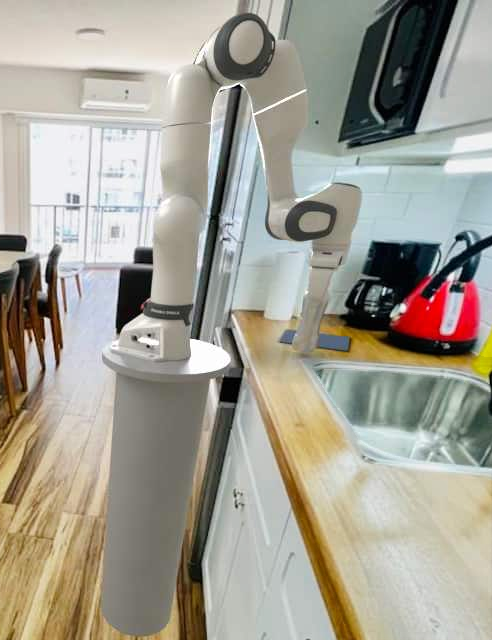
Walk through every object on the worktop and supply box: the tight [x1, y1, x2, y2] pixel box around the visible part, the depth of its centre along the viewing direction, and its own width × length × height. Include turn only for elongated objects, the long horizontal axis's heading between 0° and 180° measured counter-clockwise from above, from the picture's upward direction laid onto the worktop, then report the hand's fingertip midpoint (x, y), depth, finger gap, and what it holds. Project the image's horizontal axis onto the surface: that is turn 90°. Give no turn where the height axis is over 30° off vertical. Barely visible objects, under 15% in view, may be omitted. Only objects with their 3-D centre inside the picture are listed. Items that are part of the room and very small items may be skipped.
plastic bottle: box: [291, 288, 331, 354], centre depth 129 cm, size 6×7×20 cm
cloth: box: [279, 329, 351, 352], centre depth 146 cm, size 18×16×1 cm
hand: (313, 311), depth 128 cm, fingers closed on plastic bottle, 6 cm apart
